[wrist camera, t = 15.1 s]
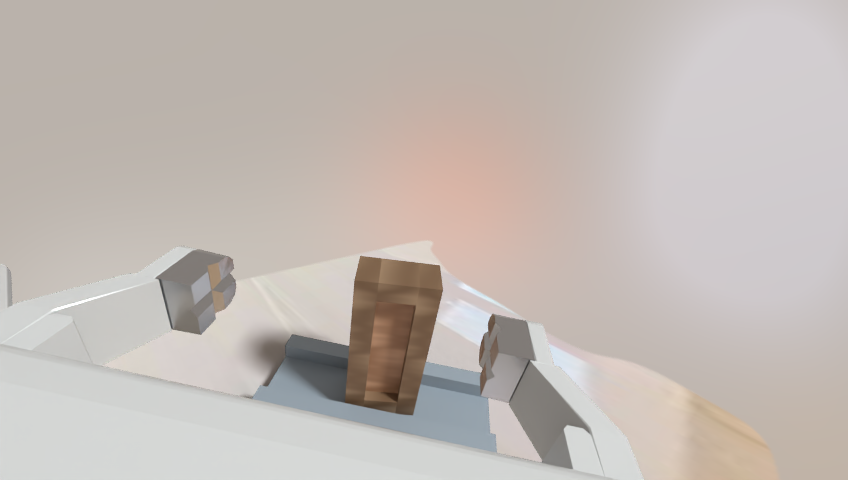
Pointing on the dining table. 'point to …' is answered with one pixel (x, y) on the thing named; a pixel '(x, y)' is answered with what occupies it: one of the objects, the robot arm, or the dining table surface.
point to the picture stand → (433, 415)
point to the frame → (391, 332)
